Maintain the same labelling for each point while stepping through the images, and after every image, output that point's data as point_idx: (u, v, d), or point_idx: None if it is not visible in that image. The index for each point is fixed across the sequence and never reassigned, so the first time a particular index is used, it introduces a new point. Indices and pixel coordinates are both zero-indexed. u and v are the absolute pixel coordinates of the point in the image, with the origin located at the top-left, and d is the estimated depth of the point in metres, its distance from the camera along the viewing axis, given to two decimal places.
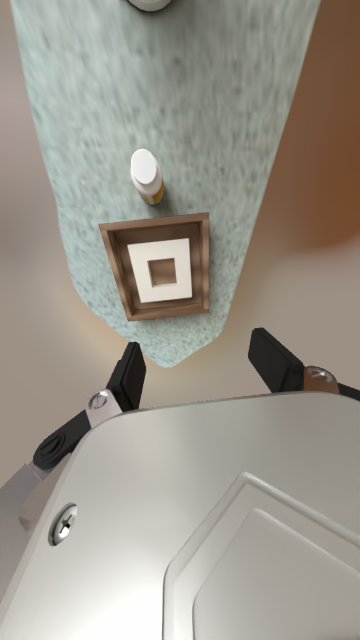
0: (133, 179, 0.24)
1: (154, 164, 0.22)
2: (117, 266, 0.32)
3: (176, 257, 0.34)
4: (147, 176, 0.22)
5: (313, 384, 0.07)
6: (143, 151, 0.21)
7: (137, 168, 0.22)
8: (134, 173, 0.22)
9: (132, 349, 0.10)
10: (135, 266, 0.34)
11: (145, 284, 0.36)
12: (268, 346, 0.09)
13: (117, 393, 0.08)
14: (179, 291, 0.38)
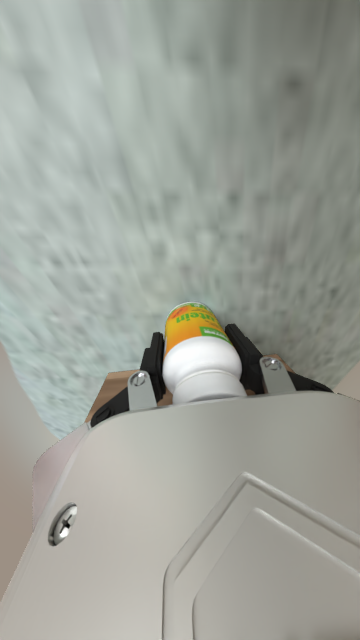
0: (169, 389, 0.09)
1: None
2: None
3: None
4: None
5: (270, 374, 0.07)
6: (220, 397, 0.06)
7: None
8: None
9: (158, 338, 0.11)
10: None
11: None
12: (235, 340, 0.10)
13: (151, 375, 0.09)
14: None
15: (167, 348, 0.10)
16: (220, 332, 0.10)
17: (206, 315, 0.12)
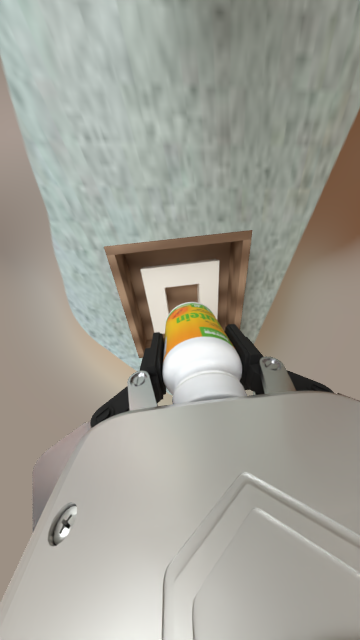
0: (169, 389, 0.09)
1: None
2: (128, 297, 0.25)
3: (201, 283, 0.27)
4: None
5: (270, 374, 0.07)
6: (221, 398, 0.06)
7: None
8: None
9: (158, 338, 0.11)
10: (149, 294, 0.27)
11: (160, 315, 0.29)
12: (235, 340, 0.10)
13: (151, 375, 0.09)
14: None
15: (167, 348, 0.10)
16: (220, 332, 0.10)
17: (206, 315, 0.12)
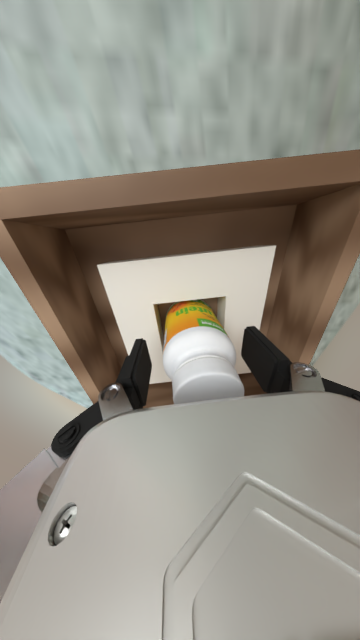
0: (169, 376, 0.10)
1: (240, 394, 0.08)
2: (70, 327, 0.11)
3: (231, 295, 0.13)
4: None
5: (300, 380, 0.07)
6: (215, 377, 0.07)
7: None
8: None
9: (139, 345, 0.10)
10: (123, 317, 0.13)
11: None
12: (258, 344, 0.10)
13: (127, 387, 0.08)
14: None
15: (167, 338, 0.10)
16: (216, 323, 0.11)
17: (204, 309, 0.12)
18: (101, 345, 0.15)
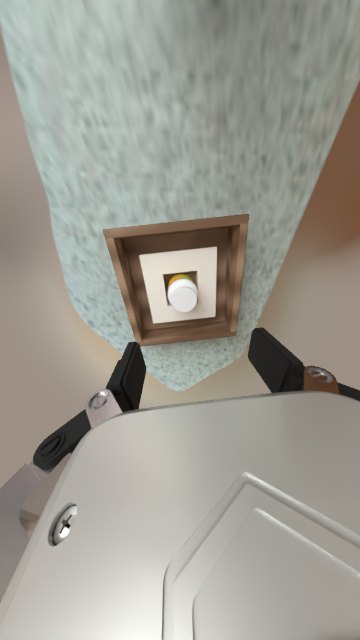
0: (170, 300, 0.24)
1: (195, 298, 0.22)
2: (126, 282, 0.25)
3: (199, 270, 0.27)
4: (187, 307, 0.22)
5: (313, 384, 0.07)
6: (185, 290, 0.21)
7: (177, 302, 0.22)
8: (174, 305, 0.22)
9: (132, 349, 0.10)
10: (148, 281, 0.27)
11: (159, 302, 0.29)
12: (268, 346, 0.09)
13: (117, 393, 0.08)
14: (200, 310, 0.31)
15: (169, 285, 0.24)
16: (190, 279, 0.25)
17: (186, 276, 0.26)
18: (135, 298, 0.29)
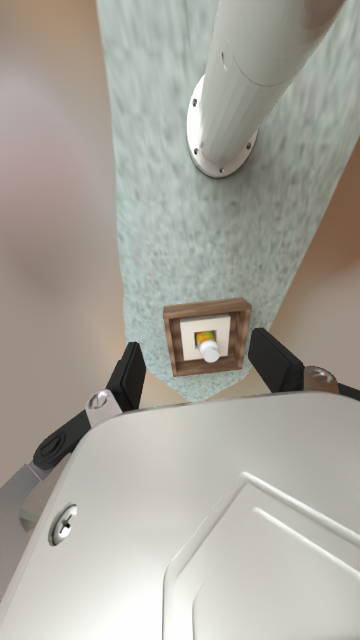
0: (201, 353, 0.38)
1: (218, 355, 0.36)
2: (171, 340, 0.39)
3: (218, 329, 0.41)
4: (213, 360, 0.36)
5: (313, 384, 0.07)
6: (212, 351, 0.35)
7: (207, 357, 0.36)
8: (205, 359, 0.36)
9: (132, 349, 0.10)
10: (184, 336, 0.41)
11: (189, 348, 0.43)
12: (268, 346, 0.09)
13: (117, 393, 0.08)
14: None
15: (200, 343, 0.38)
16: (213, 339, 0.38)
17: (209, 334, 0.40)
18: (173, 345, 0.43)
